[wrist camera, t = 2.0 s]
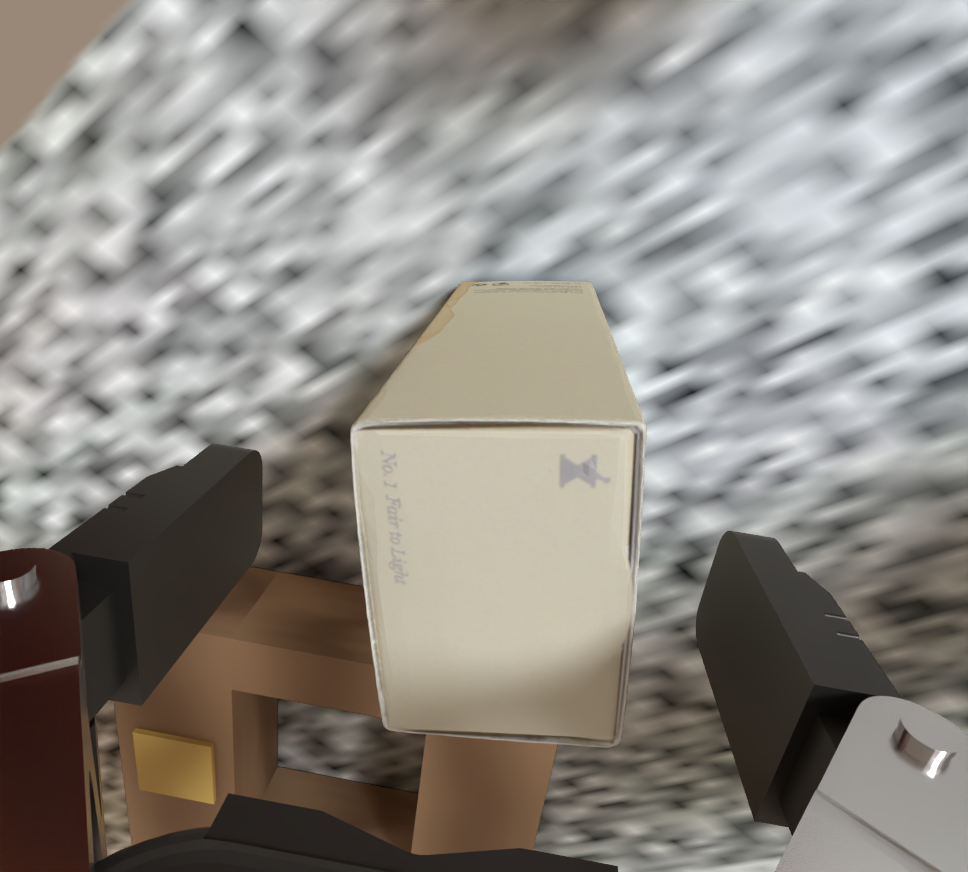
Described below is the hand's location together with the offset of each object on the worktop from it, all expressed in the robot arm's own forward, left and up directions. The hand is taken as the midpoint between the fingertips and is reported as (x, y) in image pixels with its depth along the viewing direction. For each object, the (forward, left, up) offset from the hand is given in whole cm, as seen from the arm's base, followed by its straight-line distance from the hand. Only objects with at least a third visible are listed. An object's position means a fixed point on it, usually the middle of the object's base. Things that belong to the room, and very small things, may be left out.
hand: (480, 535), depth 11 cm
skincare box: (0, 0, -11) cm, 11 cm away
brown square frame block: (+5, +16, -11) cm, 20 cm away
